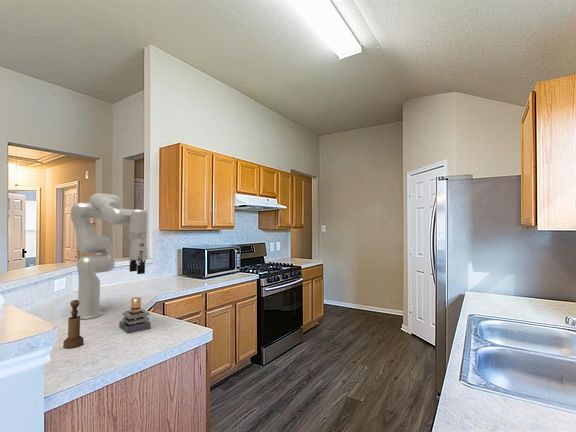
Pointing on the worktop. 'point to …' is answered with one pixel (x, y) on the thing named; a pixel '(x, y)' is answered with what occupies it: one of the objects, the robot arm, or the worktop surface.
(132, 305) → the copper tube
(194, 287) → the worktop surface
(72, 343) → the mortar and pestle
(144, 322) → the bracket
